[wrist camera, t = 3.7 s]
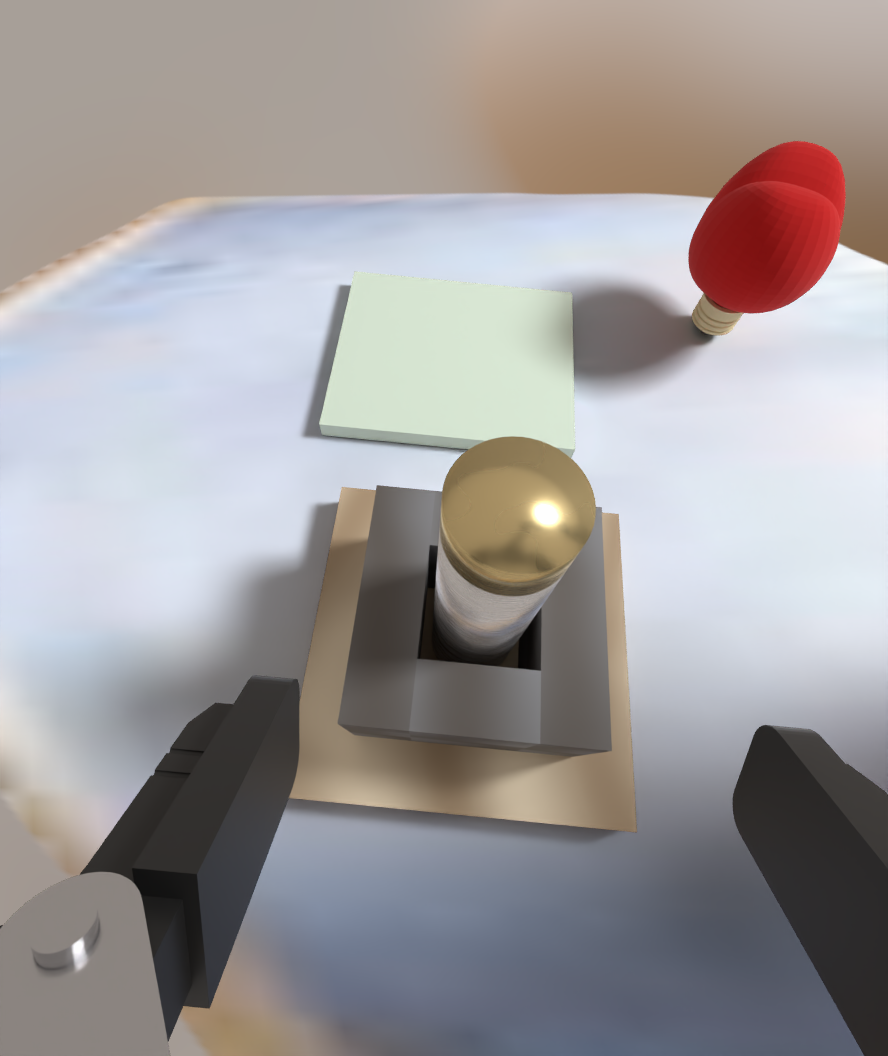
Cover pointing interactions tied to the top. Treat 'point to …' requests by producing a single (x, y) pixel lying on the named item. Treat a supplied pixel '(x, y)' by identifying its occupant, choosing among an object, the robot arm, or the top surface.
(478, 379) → the sage mat
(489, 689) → the stand
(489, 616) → the key peg
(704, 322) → the red rounded lobed piece
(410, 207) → the top surface
